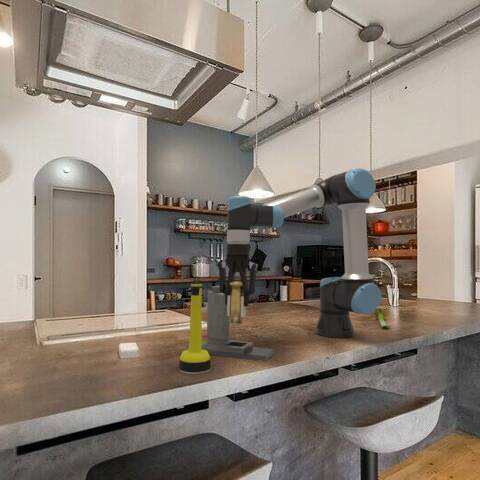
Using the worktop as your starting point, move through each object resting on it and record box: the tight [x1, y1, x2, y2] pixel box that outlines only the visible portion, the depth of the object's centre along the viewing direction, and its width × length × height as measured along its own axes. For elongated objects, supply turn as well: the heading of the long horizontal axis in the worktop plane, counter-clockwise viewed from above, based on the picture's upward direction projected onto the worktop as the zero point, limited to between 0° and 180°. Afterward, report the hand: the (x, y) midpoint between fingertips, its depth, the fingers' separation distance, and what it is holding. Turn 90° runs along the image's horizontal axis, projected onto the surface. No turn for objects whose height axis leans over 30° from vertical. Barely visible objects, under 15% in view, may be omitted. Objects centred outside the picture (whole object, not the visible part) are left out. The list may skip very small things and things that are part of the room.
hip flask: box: [206, 285, 231, 340], centre depth 134 cm, size 16×4×20 cm, turn 28°
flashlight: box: [178, 278, 212, 375], centre depth 100 cm, size 25×9×9 cm
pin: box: [229, 281, 244, 325], centre depth 116 cm, size 5×5×13 cm
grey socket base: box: [202, 338, 274, 362], centre depth 115 cm, size 22×9×3 cm, turn 69°
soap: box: [118, 342, 140, 360], centre depth 112 cm, size 9×6×3 cm, turn 22°
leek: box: [373, 308, 391, 330], centre depth 172 cm, size 6×7×30 cm
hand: (236, 315), depth 115 cm, fingers closed on pin, 4 cm apart
